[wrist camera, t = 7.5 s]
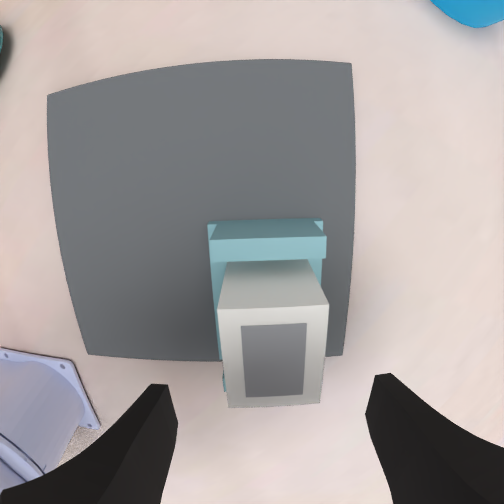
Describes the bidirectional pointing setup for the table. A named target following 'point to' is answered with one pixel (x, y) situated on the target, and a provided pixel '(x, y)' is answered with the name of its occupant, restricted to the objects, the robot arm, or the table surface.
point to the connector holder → (262, 247)
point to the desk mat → (194, 191)
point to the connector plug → (272, 333)
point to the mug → (473, 11)
